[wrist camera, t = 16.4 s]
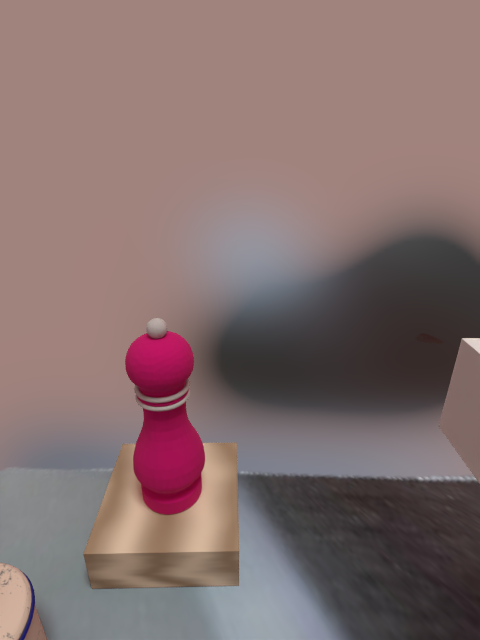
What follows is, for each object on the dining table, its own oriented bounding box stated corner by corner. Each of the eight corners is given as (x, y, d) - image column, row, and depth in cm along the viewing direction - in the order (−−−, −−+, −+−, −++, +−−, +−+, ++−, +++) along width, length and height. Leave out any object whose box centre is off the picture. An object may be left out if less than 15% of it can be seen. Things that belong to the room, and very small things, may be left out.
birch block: (236, 472, 50) (236, 442, 48) (238, 585, 37) (239, 551, 35) (127, 474, 49) (122, 443, 47) (91, 588, 37) (83, 554, 35)
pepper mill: (145, 530, 37) (118, 345, 28) (132, 476, 43) (106, 310, 34) (216, 504, 39) (210, 328, 31) (194, 456, 45) (184, 298, 37)
